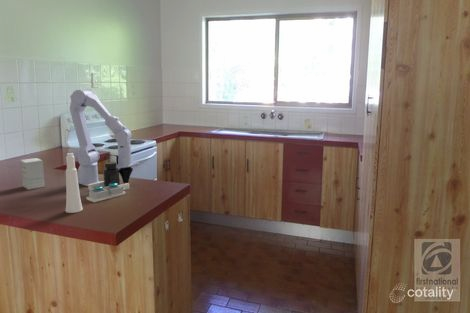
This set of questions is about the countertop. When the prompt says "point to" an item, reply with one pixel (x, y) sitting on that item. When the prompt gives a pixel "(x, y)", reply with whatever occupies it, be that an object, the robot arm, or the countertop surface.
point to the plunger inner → (113, 185)
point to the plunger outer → (98, 188)
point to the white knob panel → (105, 191)
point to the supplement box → (32, 173)
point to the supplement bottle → (111, 174)
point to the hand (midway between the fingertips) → (125, 183)
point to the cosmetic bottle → (72, 186)
